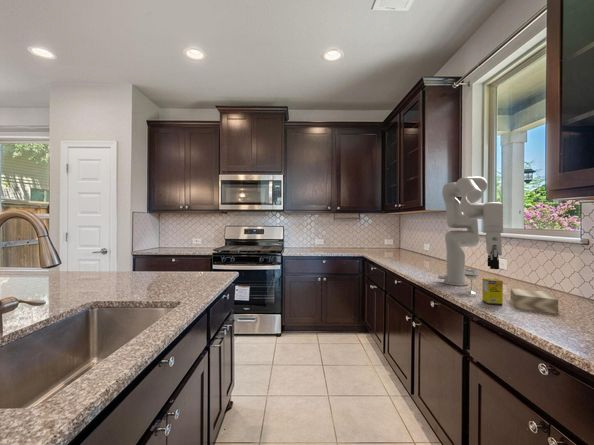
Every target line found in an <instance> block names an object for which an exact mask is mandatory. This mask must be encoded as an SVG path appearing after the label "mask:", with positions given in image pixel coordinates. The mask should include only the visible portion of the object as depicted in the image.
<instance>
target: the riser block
mask: <svg viewBox="0 0 594 445" xmlns="http://www.w3.org/2000/svg"><path fill="white" fill-rule="evenodd" d="M510 302H511V304H512V305H513V307H514V308H515V309H519V310H526V311H527V310H528V311H533V312H534V311H535V312H542V313H543V312H545V313H549V314H550V313H551V314H559V299H558V298H557V297H556V296H555V295H553V294H552V293H551V292H550V291H543V290H542V291H541V290H531V289H521V288H512V287H511V288H510Z"/></svg>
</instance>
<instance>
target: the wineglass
mask: <svg viewBox="0 0 594 445" xmlns="http://www.w3.org/2000/svg"><path fill="white" fill-rule="evenodd" d="M479 271H480V269H476V268H465V272H464V275H465V278H467V279H468V280H469V281H470V290H468V291H466V294H473V295H477V294H478V292H476V291H473V281H474V280H476V279H478V278H479V277H480V272H479Z"/></svg>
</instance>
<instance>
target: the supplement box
mask: <svg viewBox="0 0 594 445" xmlns="http://www.w3.org/2000/svg"><path fill="white" fill-rule="evenodd" d="M481 285H482V302H483V303H485V304H487V305H491V306H503V294H504V293H503V288H504V287H503V280H501V279H498V278H490V277H483V278H482V284H481Z"/></svg>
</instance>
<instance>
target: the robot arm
mask: <svg viewBox="0 0 594 445" xmlns="http://www.w3.org/2000/svg"><path fill="white" fill-rule="evenodd" d="M487 188H488V181H487V180H486V178H484V177H483V176H465V177H460V178H459V179H458V180H457V181H454V182H448V183H445V184H444V185H443V187H442V192H441V193H442V200H443V202H444V205H445V210H446V211H445V212H446V213H445V215H446V224H447V226H448V227H449V228H451V229H453V230H449V231H447V232H446V233H445V235H444V241H445V248H446V274H445V275H438V276H437V278H438V279H439V280H443V283H444V284H446V285H449V286H457V287H458V286H461V287H463V286H468V283H469V282H467V281H465V280H466V276H465V275H464V272H465V269H466V254H465V252H464V250H463V249H462V247H465V248H466V247H467V248H469V247H470V248H471V247H476V246H477V245H479V241H480V238H479V237H480V236H479V235H480V234H479V222H478V220H482V230H483V231H482V233H483V234H485V246H486V254H487V267H489V269H490V270H499V269H500V260H499V256H502V254H503V251H502V250H503V248H502V247H503V246H502V245H503V244H502V234H504V204H503V203H502V202H500V201H499V202H497V201H496V202H495V201H494V202H486V203H483V202H481V203H480V202H479V201H480V199H481V198H482V197H483V193H484V192H485V191H486V190H487ZM457 197H459V198H460V197H461V199H460V200H459V199H458V198H457ZM478 202H479V203H478ZM454 229H459V230H454ZM460 229H461V230H460ZM462 229H466V230H462Z"/></svg>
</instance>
